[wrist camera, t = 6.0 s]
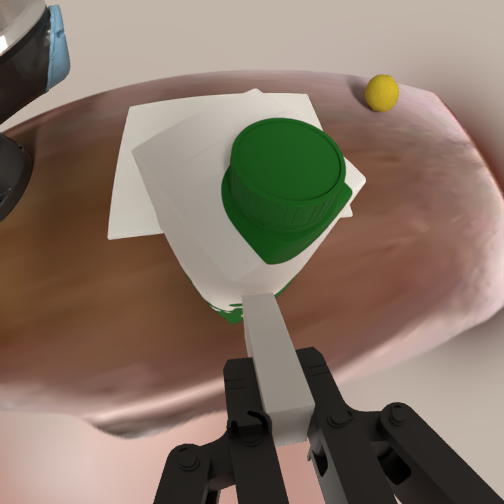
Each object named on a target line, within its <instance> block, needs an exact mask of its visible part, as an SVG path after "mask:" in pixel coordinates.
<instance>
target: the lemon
mask: <svg viewBox="0 0 504 504" xmlns="http://www.w3.org/2000/svg"><path fill="white" fill-rule="evenodd" d="M398 96H399V87H398V85H397V83H396V81H394V79H393V78H392V77H391V76H390V75H377V76H375V77H373V78H372V79H371V80H370V81H369V83H368V85H367V87H366V90H365V99H366V101H367V103H368V105H369V106H370V107H371V108H372V110H374V111H379V112H385V111H388V110H390V109H391V108H393V106H394V105H395V104H396V102H397V100H398Z"/></svg>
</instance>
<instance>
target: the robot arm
mask: <svg viewBox="0 0 504 504" xmlns="http://www.w3.org/2000/svg"><path fill="white" fill-rule="evenodd" d="M69 71H70V59H69V53H68V47H67V42H66V37H65V34H64V27H63V20H62V14H61V11H60V7H59V5H54V6H49V7H48V8H47V6H46V4H45V1H44V0H0V124H2V123H3V122H5V121H6V120H7V119H8V118H10V117H11V116H12V115H14V114H15V113H16V112H17V111H19V110H20V109H22V108H23V107H24V106H26V105H27V104H29V103H30V102H32V101H33V100H35V99H36V98H38V97H39V96H41V95H43V94H45V93H47V92H48V91H49V89H51V88H52V87H54V86H55V85H56V84H58V83H59V82H61V81H63V80H64V79H65V78H66V76H67V75H68V73H69ZM31 170H32V158H31V155H30V154H29V153H28V151H27V150H26V149H25V147H24V146H23V145H21V144H19V143H17V142H15V141H14V140H12V139H10V138H9V137H7V136H5V135H3V134H2V133H0V221H2V220H3V219H4V218H5V217H6V216H7V215H8V214H9V212H10V211H11V210H12V209H13V207H14V206H15V205H16V203H17V202H18V200H19V199H20V197H21V195H22V193H23V192H24V190H25V188H26V185H27V183H28V181H29V178H30V174H31ZM242 308H243V320H244V333H245V341H246V347H247V352H248V358H240V359H231V360H227V362H226V364H225V367H224V369H223V373H224V384H225V394H226V404H227V413H228V420H227V427H226V428H227V430H226V432H225V433H224V435H223V436H222V437H220V438H219V439H217V440H215V441H213V442H211V443H208V444H205V445H202V446H198V445H195V444H182V445H179V446H177V447H175V448H174V449H173V450H171V452H170V453H169V455H168V457H167V460H166V464H165V467H164V470H163V473H162V477H161V479H160V483H159V486H158V489H157V493H156V496H155V499H154V503H153V504H218V503H219V497H220V492H221V489H224V488H227V487H229V486H232V485H236V492H237V498H238V504H289V501H288V497H287V493H286V489H285V486H284V481H283V477H282V473H281V470H280V465H279V461H278V457H277V453H276V449H275V447H279V446H285V445H289V444H295V443H300V442H304V441H306V440H307V436H308V438H309V442H310V444H311V446H310V450H309V453H308V456H307V458H308V461H310V460H311V459H312V462H313V465H314V468H315V471H316V474H317V478H318V481H319V484H320V487H321V491H322V494H323V497H324V500H325V503H326V504H398V503H397V501H396V499H395V496H396V497H397V498H398V499H399V501H400V502H401V503H402V504H504V500H503V499H502V498H501V497H500V496H498V495H497V494H496V493H495V492H494V491H493V490H492V488H491V487H490V486H488V484H487V483H485V481H484V480H483V479H482V478H481V477H480V476H479V475H478V474H477V473H476V472H475V471H474V470H473V469H472V468H471V467H470V466H469V465H468V464H467V463H466V462H465V461H464V460H463V459H462V458H461V457H460V456H459V455H458V454H457V453H456V452H455V451H454V450H453V449H452V448H451V447H450V446H449V445H448V444H447V443H445V441H444V440H443V439H442V438H441V437H440V436H439V435H438V434H437V433H436V432H435V431H434V430H433V429H432V428H431V427H430V426H429V425H428V424H427V423H426V422H425V421H424V420H423V419H422V418H421V417H420V416H419V415H418V414H417V413H416V412H415V411H414V410H413V409H412V408H411V407H409V406H408V405H406V404H404V403H400V402H395V403H391V404H388V405H387V406H386V407H385V408H384V409H383V410H382V411H372V412H371V411H369V412H364V411H358V410H354V409H352V408H351V407H349V406H348V405H347V404H346V403H345V401H344V400H343V398H342V396H341V394H340V391H339V389H338V387H337V385H336V383H335V381H334V379H333V376H332V374H331V373H330V370H329V368H328V366H327V365H326V362H325V360H324V357H323V355H322V354H321V353H320V352H319V351H318V350H317V349H315V348H314V347H309V348H303V349H298V350H295V349H294V347H293V344H292V341H291V339H290V336H289V333H288V331H287V328H286V325H285V323H284V320H283V318H282V315H281V312H280V310H279V307H278V305H277V302H276V299H275V297H274V294H273V292H271V293H263V294H254V295H245V296H242ZM394 495H395V496H394Z"/></svg>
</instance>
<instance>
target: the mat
mask: <svg viewBox="0 0 504 504" xmlns="http://www.w3.org/2000/svg"><path fill="white" fill-rule="evenodd" d="M264 94H265V95H266V96H268V97H269V98H271V99H272V100H273V101H275V102H276V103H277V104H279V105H280V106H281V107H283V108H284V109H285V110H291V111H293V112H294V113H295V114H297V115H298V116H299V117H300V118H302V119H303V120H304V121H305V122H306V123H309V124H311V125H313V126H315V127H317V128H319V129H320V130H322V128H321V125H320V123H319V120H318V118H317V116H316V113H315V111H314V109H313V107H312V104H311V102H310V100H309V98H308V95H307V94H292V93H264ZM237 95H240V94H223V95H210V96H199V97H190V98H181V99H174V100H167V101H160V102H154V103H148V104H142V105H137V106H132V107H130V108H129V112H128V116H127V120H126V124H125V128H124V133H123V137H122V142H121V147H120V152H119V157H118V162H117V168H116V174H115V180H114V187H113V194H112V201H111V209H110V218H109V229H108V239H109V240H111V239H119V238H127V237H135V236H144V235H152V234H161V233H163V231H162V230H161V228H160V226H159V223H158V220H157V216H156V211H155V209H154V207H153V204H152V202H151V199H150V197H149V194H148V192H147V189H146V187H145V184H144V182H143V179H142V177H141V174H140V172H139V169H138V166H137V164H136V162H135V159H134V157H133V154H132V152H131V150H132V149H134V148H135V147H137V146H138V145H140V144H142V143H143V142H145V141H147V140H148V139H150V138H152V137H154V136H155V135H157V134H159V133H161V132H163V131H164V130H166V129H168V128H170V127H172V126H174V125H176V124H178V123H179V122H181V121H183V120H185V119H187V118H189V117H191V116H193V115H195V114H197V113H199V112H202V111H204V110H206V109H208V108H210V107H212V106H214V105H217V104H219V103H221V102H223V101H226V100H228V99H230V98H233V97H235V96H237ZM322 131H323V130H322ZM352 215H353V214H352V211H351V208H350V205H349V206H348V207H347V208H346V210H345V211H344V213H343V214H342V215H341V217H351V216H352Z"/></svg>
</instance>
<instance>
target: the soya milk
mask: <svg viewBox="0 0 504 504" xmlns="http://www.w3.org/2000/svg"><path fill="white" fill-rule="evenodd" d="M131 152H132V154H133V157H134V159H135V162H136V164H137V166H138V169H139V172H140V174H141V177H142V179H143V182H144V184H145V187H146V189H147V192H148V194H149V197H150V199H151V202H152V204H153V207H154V209H155V211H156V216H157V220H158V223H159V226H160V228H161V230H162V231H163V233H164V234H165V236H166V238H167V240H168V242H169V244H170V246H171V248H172V250H173V252H174V254H175V256H176V257H177V259H178V261H179V263H180V265H181V267H182V268H183V270H184V272H185V274H186V276H187V277H188V279H189V280H190V281H191V283H192V284H193V286H194V287H195V288H196V289H197V291H198V292H199V293H200V295H201V296H202V297H203V298H204V300H205V301H206V302H207V303H208V304H209V305H210V306H211V308H212V309H214V310H215V311H216V312H217V313H218V314H220V315H221V316H222V317H223V318H225V319H226V320H227V321H229V322H230V323H231V324H232V325H234V324H236V323H238V322H239V321H241V320H243V308H242V296H245V295H254V294H263V293H271V292H273V294H274V297H275V298H276V297H277V296H279V295H280V294H281V293H282V292H283V291H284V290H285V289H286V288H287V287H288V286H289V285H290V283H291V282H292V281H293V279H294V278H295V277H296V276H297V274H298V273H299V272H300V270H301V269H302V268H303V266H304V265H305V264H306V263H307V261H308V260H309V259H310V257H311V256H312V255H313V253H314V252H315V250H316V249H317V248H318V246H319V245H320V244H321V242H322V241H323V240H324V238H325V237H326V235H327V234H328V233H329V231H330V230H331V229H332V227H333V226H334V225H335V223H336V222H337V221H338V219H339V218H340V217H341V215H342V214H343V213H344V211H345V210H346V208H347V207H348V206H349V204H350V203H351V202H352V200H353V199H354V197H355V196H356V195H357V193H358V192H359V191H360V189H361V188H362V186H363V185H364V184H365V182H366V178H365V177H364V176H363V175H362V174H361V173H360V172H359V171H358V170H357V169H356V168H355V167H354V166H353V165H352V164H351V163H350V162H349V161H348V160H347V159H346V158H345V157H344V156H343V154H342V152H341V150H340V148H339V147H338V146H337V144H336V143H335V142H334V141H333V140H332V139H331V137H329V136H328V135H327V134H326V133H325V132H323V131H322V130H320V129H319V128H317V127H315V126H313V125H311V124H309V123H306V122H305V121H304V120H303V119H302V118H300V117H299V116H298V115H297V114H295V113H294V112H293V111H291V110H285V109H284V108H283V107H281V106H280V105H279V104H277V103H276V102H275V101H273V100H272V99H271V98H269V97H268V96H266V95H265V94H264V93H262V92H261V91H259V90H258V89H256V88H255V89H252V90H250V91H247V92H245V93H242V94H240V95H237V96H235V97H233V98H230V99H228V100H226V101H223V102H221V103H219V104H217V105H214V106H212V107H210V108H208V109H206V110H204V111H202V112H199V113H197V114H195V115H193V116H191V117H189V118H187V119H185V120H183V121H181V122H179V123H178V124H176V125H174V126H172V127H170V128H168V129H166V130H164V131H163V132H161V133H159V134H157V135H155V136H154V137H152V138H150V139H148V140H147V141H145V142H143V143H142V144H140V145H138V146H137V147H135V148H134V149H132V150H131Z"/></svg>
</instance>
